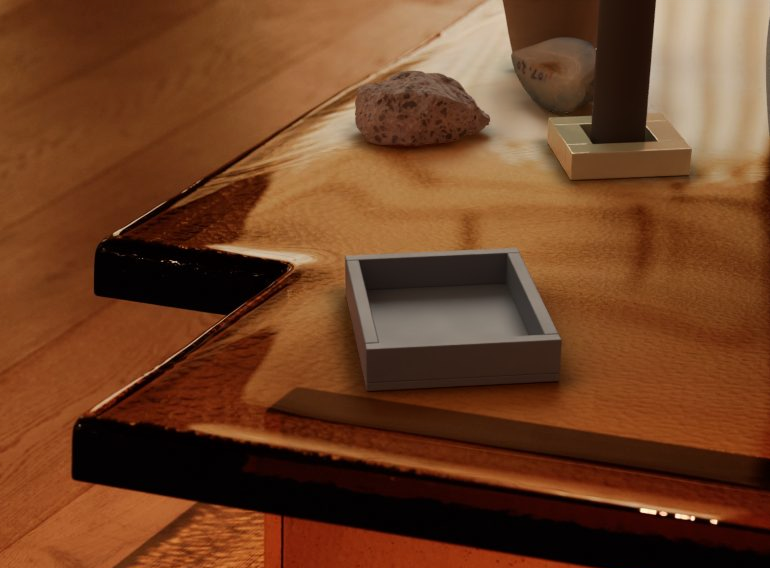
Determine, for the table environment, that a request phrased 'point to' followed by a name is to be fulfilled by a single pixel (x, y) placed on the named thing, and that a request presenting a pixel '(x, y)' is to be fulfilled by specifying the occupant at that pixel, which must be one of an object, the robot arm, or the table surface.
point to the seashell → (557, 73)
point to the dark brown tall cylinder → (622, 70)
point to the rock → (417, 110)
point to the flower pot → (550, 21)
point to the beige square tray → (618, 150)
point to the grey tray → (449, 320)
